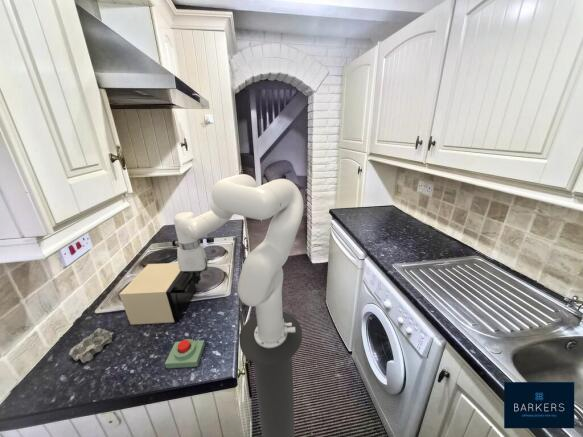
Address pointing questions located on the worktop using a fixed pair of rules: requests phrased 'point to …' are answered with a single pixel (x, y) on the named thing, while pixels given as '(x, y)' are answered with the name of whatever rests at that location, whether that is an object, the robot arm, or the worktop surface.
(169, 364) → the control block
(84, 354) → the egg carton
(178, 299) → the oven door
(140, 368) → the worktop surface
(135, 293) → the oven
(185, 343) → the button
